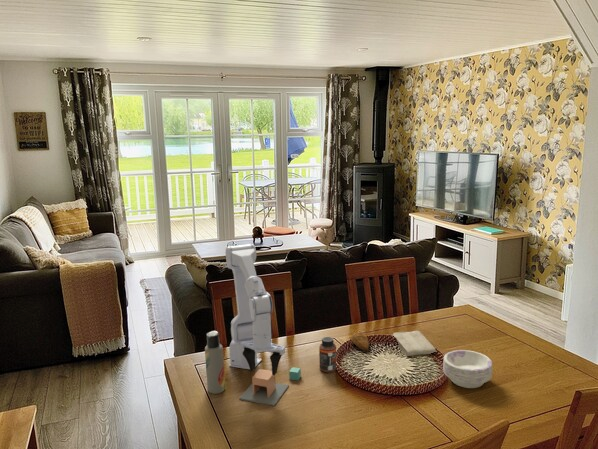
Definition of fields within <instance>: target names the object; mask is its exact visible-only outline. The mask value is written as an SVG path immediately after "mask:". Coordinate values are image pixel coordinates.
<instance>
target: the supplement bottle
mask: <svg viewBox="0 0 598 449" xmlns="http://www.w3.org/2000/svg"><path fill="white" fill-rule="evenodd" d="M318 352H319V356H318V357H319V358H318V360H319V362H318V363H319V370H320V371H322V372H323V373H333V372H335V371H336V370H337V345H336V344H335V343H334V338H333V337H331V336H326V337H323V338H321V343H320V344H319V350H318Z"/></svg>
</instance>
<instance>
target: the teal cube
mask: <svg viewBox="0 0 598 449" xmlns="http://www.w3.org/2000/svg"><path fill="white" fill-rule="evenodd" d="M301 371H302V370H301V368H300V367H291V368H290V370H289V372H288V376H289V377H288V378H289V380H292V381H299V380H300V378H301V375H302V374H301V373H302V372H301Z"/></svg>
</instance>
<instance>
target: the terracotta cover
mask: <svg viewBox="0 0 598 449" xmlns="http://www.w3.org/2000/svg"><path fill="white" fill-rule="evenodd" d="M251 380H252V381H251V382H252V383H253V394H254V395H255V393H256V392H257V391H258V390H259V389H260V387H265V388H267V397H269V396H270V395H271V394H272V393H273V391H274V390H275V389H276V384H275V383H276V374H275V375H272V370H268V369H261V368H259V369H258V370H257V371H256V372H255V373H254V375H252V378H251ZM252 383H251V384H252Z"/></svg>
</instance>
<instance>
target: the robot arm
mask: <svg viewBox="0 0 598 449" xmlns="http://www.w3.org/2000/svg"><path fill="white" fill-rule="evenodd" d="M256 249H257V248H256V246H255V244H253V243H252V242H251V243H247V244H240V245H239V244H238V245H228V246H227V247H226V248H225V260H226V266H227V269H229V270H232V274H233V279H234V280H233V281H234V289H235V290H234V291H235V299H236V300H235V301H236V309H237V315H236V316H234V318H232V320H231V322H230V334H231V342H230V344H229V348H228V349H229V351H228V352H229V365H228V366H229V367H232V368H240V369H244V370H245V369H246V370H250V372H254V370H255V369H256V367H257V366H258V365H259V363H260V362H262V358H259V357H258V354H259V353H262V352H263V353H264V352H265V353H266V352H267V353H272V354H271V355H270V356H269V360H270V363H271V371H272V375H275V376H276V374H277V373H278V368H279V362H280V361H281V358H282V356H284V355H285V353H286V347H285V346H282V345H280V344H276V343H273V342H272V322H271V320H272V318H271V317H272V316H271V313H273V310H274V304H273V303H274V302H273V299H272V295H271V294H270V293H269V292H268V291H266V288H265V286H264V283H263V279H262V278H261V277H260V276H257V271H256V267H255V263H256V259H257V250H256Z"/></svg>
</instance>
